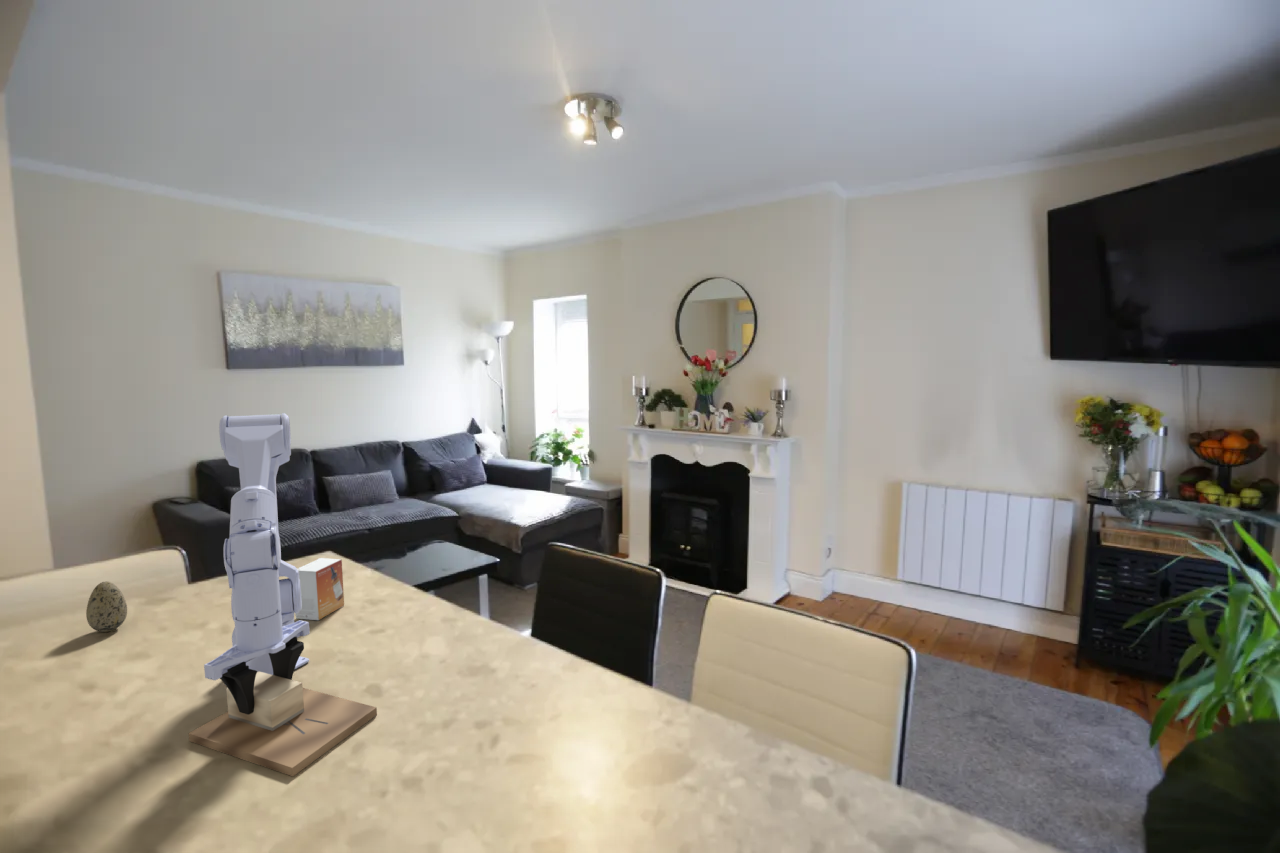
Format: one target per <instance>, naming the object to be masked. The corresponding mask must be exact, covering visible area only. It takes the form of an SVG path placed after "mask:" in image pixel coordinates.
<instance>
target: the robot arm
mask: <svg viewBox="0 0 1280 853" xmlns="http://www.w3.org/2000/svg"><path fill="white" fill-rule="evenodd" d="M218 428H219V430H218V432H219V443H220V447H221V450H222V451H223V454H224V458H225V460H226V461H227V463H228V465H229V466H231V467H234V468H237V469H238V472H239V483H240V484H239V486H240V490H239V491H237V492H236V493H234V495H232V497H231V500H230V514H229V515H230V517H229V518H230V520H229V521H230V522H229V537H228V538H225V539H224V543H223V564H224V567H225V568H224V569H225V571H226V575H227V579H228V588H229V589H231V596H230V598H231V601H230V602H231V603H230V604H231V615H232V620H233V622H234V628H233V630H232V633H231V645H232V646H231V647H230V648H229V649H227V650H226V651H224V652H223V653H222V654H220V655H218V656H217V657H215V658H214V659H213V660H210V661H209V662H207V663H204V664H203V668H204V669H203V670H204V678H205V679H208V680H211V681H217V680H221V682H223V683H224V685H225V686H226V687H227V688H228V689H229V690H230V692H231V694H232V696H233V697H234V700H235V702H236V704H237V707H238V709H239V712H241V713H244V714H248V715H249V714H251V713H253V712H254V682H255V677H256V674H257V672H259V671H260V672H263V673H267V674H271V675H275V676H279V677H283V678H286V679H290V680H293V676H294V672H295V670H296V669H298V668H300V667H302V666H304V665H305V664H307V663H309V662H310V658H308V657H304V656H301V654H302V653H303V651H304V649H305V643H304V641H300V640H298V638H299V637H306V636H308V635H309V634H311V632H310V622H309V621H306V620H302V619H298V620H297V621H295V615H296V613H299V611H300V610H301V609H302V600H301V584H300V579H299V571H298V570H297V568H298V567H296V566H295V565H293V564H290V563H288V562H286V561H284V560H283V559H282V552H281V551H282V549H281V548H282V547H281V546H282V545H281V538H280V532H279V519H278V518H279V517H278V516H279V515H278V499H277V498H278V496H277V476H278V475H277V474H278V473H279V472H278V471H279V467H280V466H282V465H284V464H286V463H288V462H289V461H291V460H290V458H291V457H290V456H291V455H292V449H291V445H292V440H291V439H292V437H291V423H290V416H289V415H288V414H286V412H282V413H280V414H279V413H277V414H254V415H252V414H250V415H230V416H229V415H226V414H225V415H223V416H222V417H221V418H220V419H219V427H218ZM280 577H286V578H282V579H280Z"/></svg>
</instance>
